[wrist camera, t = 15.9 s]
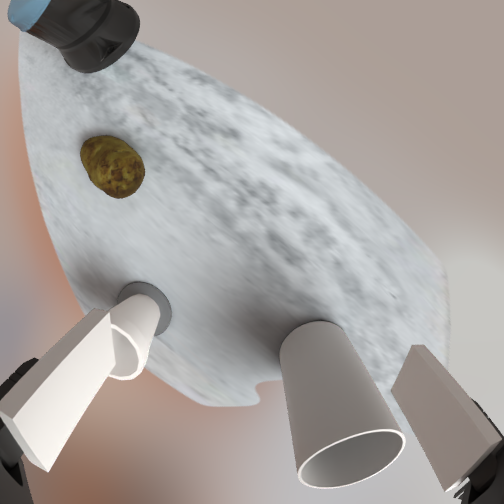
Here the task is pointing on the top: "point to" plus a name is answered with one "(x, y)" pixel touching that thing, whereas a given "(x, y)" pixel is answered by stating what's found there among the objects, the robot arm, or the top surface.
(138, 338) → the foam cup
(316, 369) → the cylinder vase
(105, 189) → the potato
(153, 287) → the coaster
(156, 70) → the top surface
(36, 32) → the robot arm
